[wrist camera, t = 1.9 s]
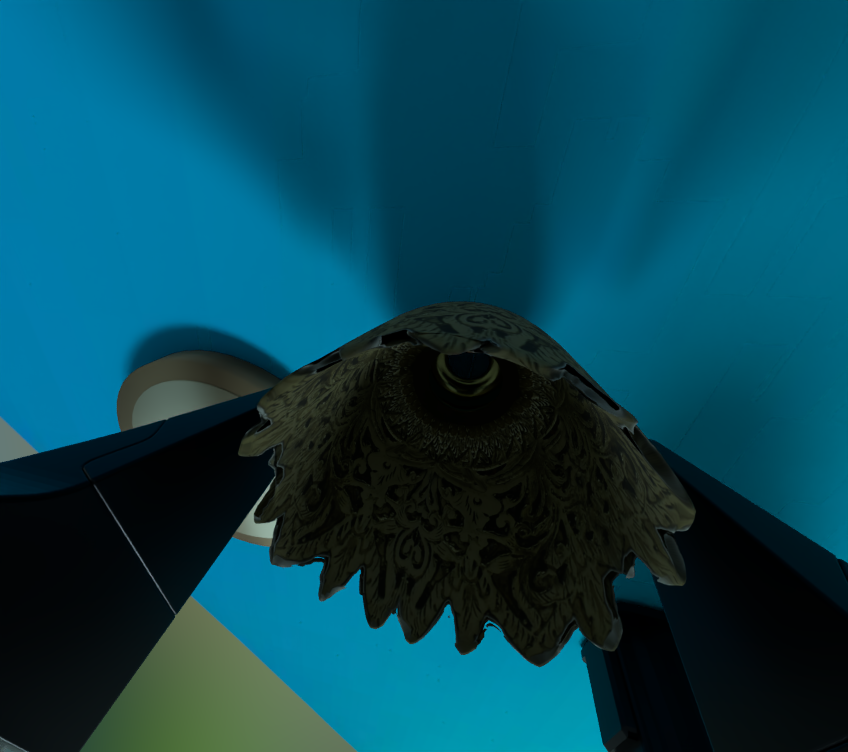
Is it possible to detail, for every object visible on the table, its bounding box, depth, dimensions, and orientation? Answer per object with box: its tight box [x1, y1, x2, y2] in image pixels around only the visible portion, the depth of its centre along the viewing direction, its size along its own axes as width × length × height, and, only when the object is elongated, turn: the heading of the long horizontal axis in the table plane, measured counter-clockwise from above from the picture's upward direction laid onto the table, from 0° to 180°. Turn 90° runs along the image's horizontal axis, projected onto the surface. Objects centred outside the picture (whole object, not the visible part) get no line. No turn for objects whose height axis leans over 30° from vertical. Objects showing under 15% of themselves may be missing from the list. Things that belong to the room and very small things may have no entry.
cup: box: [238, 301, 696, 667], centre depth 9 cm, size 8×7×8 cm
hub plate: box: [117, 350, 281, 547], centre depth 17 cm, size 13×13×1 cm
